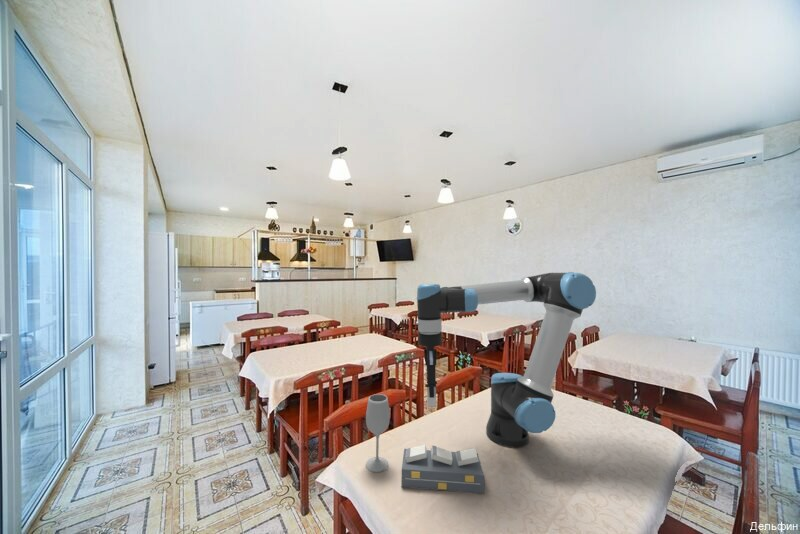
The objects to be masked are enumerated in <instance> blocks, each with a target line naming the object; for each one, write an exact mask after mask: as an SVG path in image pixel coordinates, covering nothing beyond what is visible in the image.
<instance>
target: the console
mask: <svg viewBox="0 0 800 534" xmlns="http://www.w3.org/2000/svg"><path fill="white" fill-rule="evenodd" d="M407 449H408V448H403V454H402V455H403V457H402V465H401V483H400V484H401V488H409V489H424V490H436V491H449V492H460V493H472V494H474V493H475V494H485V474H484V470H483V466H482V463H481V460H480V456H479V453H477V457H478V460H479V462H475V463H470V464H466V465H461V466H458V462H457V457H456V452H457V451H451V453H452V460H453V461H452V465H449V464H446V463H443V462H440V461H437V460H433V459H431V449H430V450H429V449H427V458H423V459H420V460H416V461H412V462H408V463H407V461H406V451H407Z"/></svg>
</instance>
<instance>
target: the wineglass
mask: <svg viewBox="0 0 800 534" xmlns="http://www.w3.org/2000/svg"><path fill="white" fill-rule="evenodd" d="M389 404H390V403H389V400H388V396H387V395H385V394H381V393H376V394H372V395H370V396H369V397H368V400H367V406H366V413H365V424H366V427H367V429H368V430H369V431H370V432H371V433H372V434H373V435H374V436H375V440H376V442H375V443H376V445H375V457H371V458H369V459H368V460H367V461H366V462H365V468H366V470H368V471H369V472H372V473H381V472H384V471H386V470H387V469H388V467H389V461H388V460H387V458H384V457H381V456H379V449H380V448H379V442H380V441H379V440H380V439H379V438H380V436H381V435H382V434H383V433H384V432H385V431H387V429H388V428H389V425H390V421H391V418H390V417H391V414H390V405H389Z"/></svg>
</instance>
